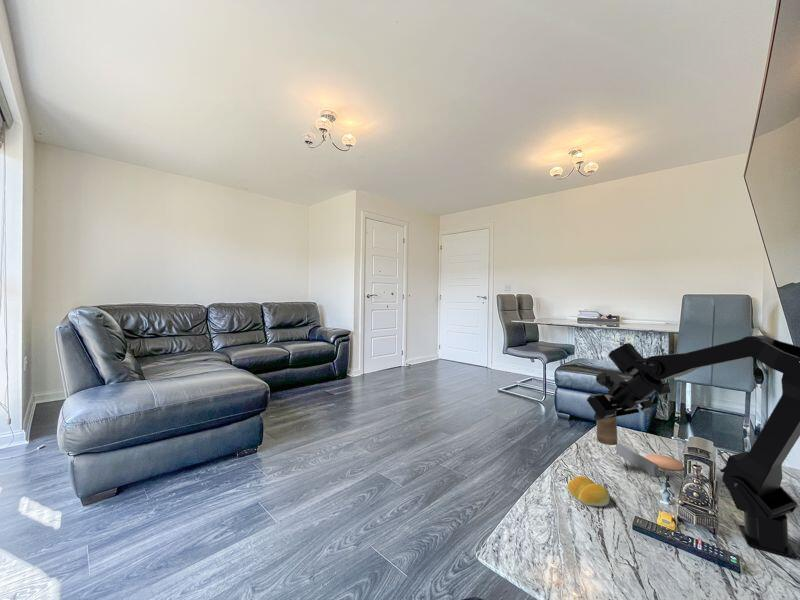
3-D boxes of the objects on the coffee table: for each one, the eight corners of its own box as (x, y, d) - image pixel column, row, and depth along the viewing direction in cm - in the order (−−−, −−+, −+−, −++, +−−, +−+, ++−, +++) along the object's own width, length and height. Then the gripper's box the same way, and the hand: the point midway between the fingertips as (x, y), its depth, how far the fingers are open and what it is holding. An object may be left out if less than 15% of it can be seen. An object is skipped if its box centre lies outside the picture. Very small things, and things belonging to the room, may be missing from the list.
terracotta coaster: (687, 473, 90) (687, 472, 90) (646, 465, 95) (646, 464, 95) (682, 460, 97) (681, 458, 97) (644, 453, 102) (644, 452, 102)
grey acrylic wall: (658, 476, 89) (658, 465, 89) (654, 476, 89) (653, 465, 89) (620, 453, 103) (619, 443, 103) (616, 453, 103) (616, 443, 103)
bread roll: (594, 512, 75) (593, 494, 75) (562, 491, 84) (561, 476, 84) (619, 503, 78) (618, 486, 78) (585, 484, 87) (585, 469, 87)
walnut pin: (617, 446, 92) (615, 400, 93) (596, 442, 95) (594, 397, 96) (617, 440, 97) (615, 395, 97) (597, 436, 99) (596, 393, 100)
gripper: (640, 360, 96) (607, 390, 106) (591, 366, 90) (561, 396, 100) (671, 394, 88) (632, 422, 98) (620, 403, 82) (584, 432, 92)
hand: (602, 417), depth 97 cm, fingers closed on walnut pin, 5 cm apart
